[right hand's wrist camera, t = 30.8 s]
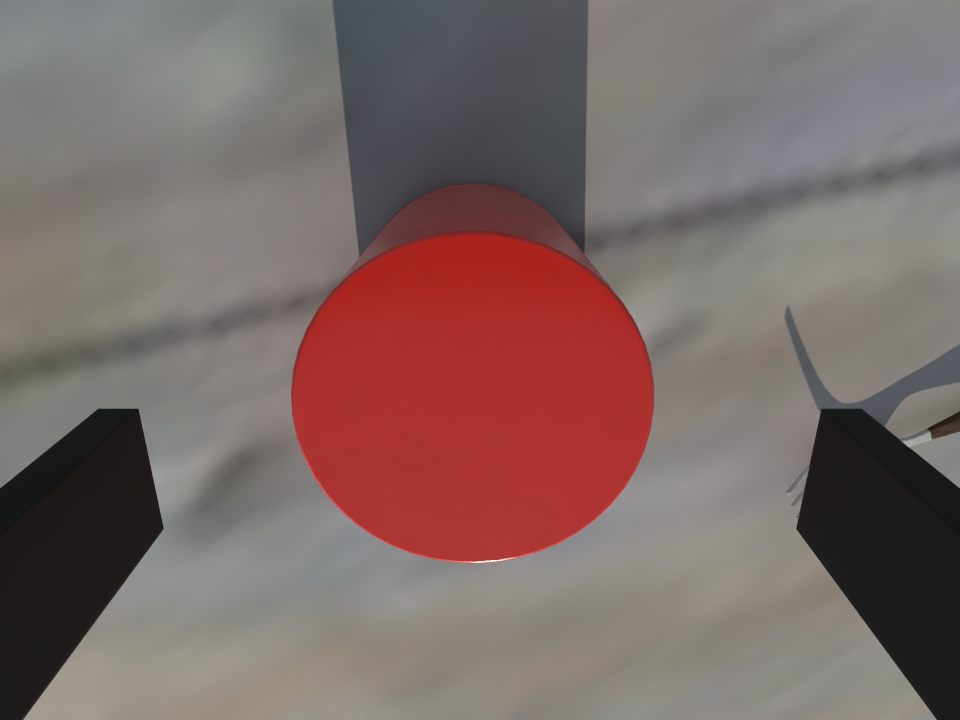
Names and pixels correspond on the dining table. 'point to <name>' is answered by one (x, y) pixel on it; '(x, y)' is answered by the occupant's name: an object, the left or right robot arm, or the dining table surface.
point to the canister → (472, 382)
